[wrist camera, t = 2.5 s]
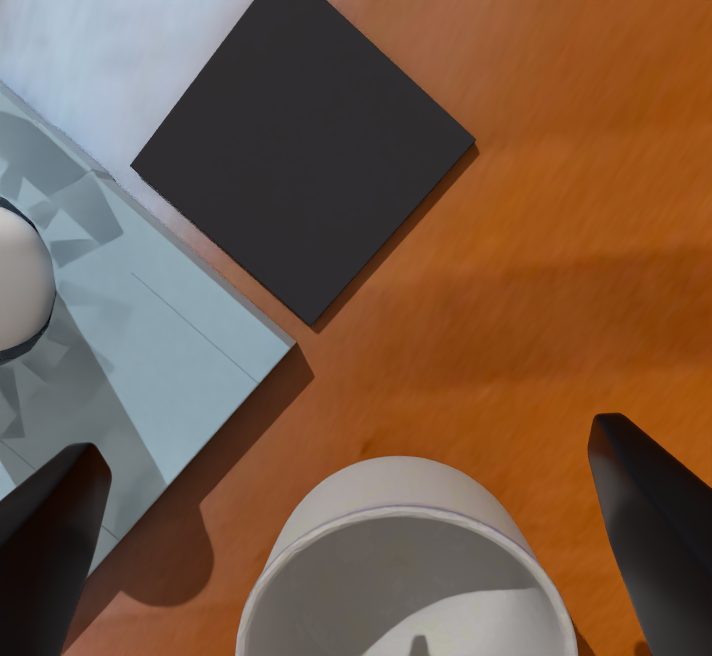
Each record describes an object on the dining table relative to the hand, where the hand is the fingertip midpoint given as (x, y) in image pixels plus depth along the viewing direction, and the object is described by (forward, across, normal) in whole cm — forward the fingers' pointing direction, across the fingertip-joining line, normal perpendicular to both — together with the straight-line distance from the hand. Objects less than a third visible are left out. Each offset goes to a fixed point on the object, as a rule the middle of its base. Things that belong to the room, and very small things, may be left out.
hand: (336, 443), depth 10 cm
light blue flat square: (+12, +17, +7) cm, 22 cm away
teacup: (+7, -1, +16) cm, 18 cm away
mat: (+15, +2, 0) cm, 16 cm away
